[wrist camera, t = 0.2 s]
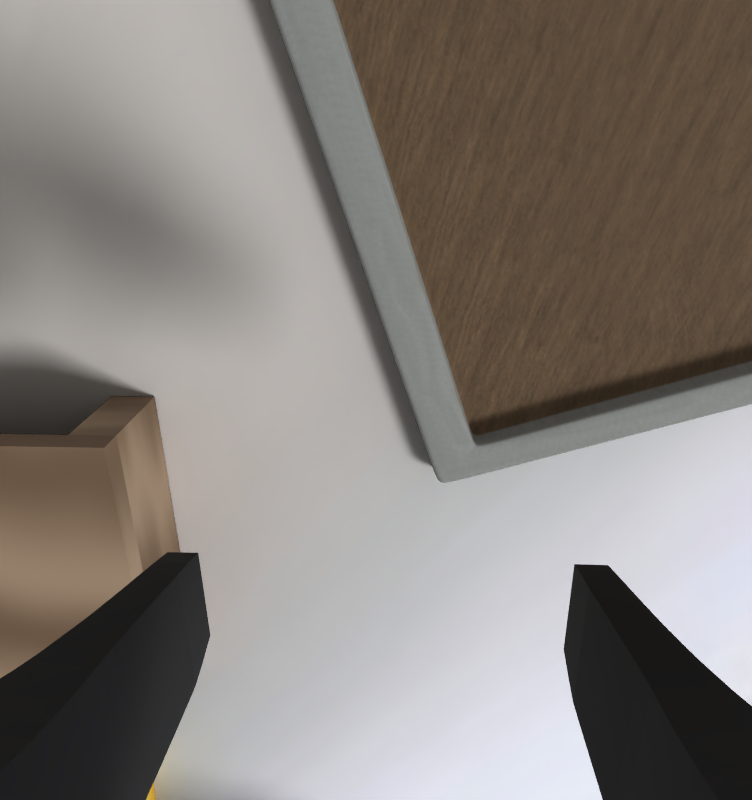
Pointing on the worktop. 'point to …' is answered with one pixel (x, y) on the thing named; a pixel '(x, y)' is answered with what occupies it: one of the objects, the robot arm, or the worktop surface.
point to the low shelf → (78, 521)
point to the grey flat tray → (543, 208)
